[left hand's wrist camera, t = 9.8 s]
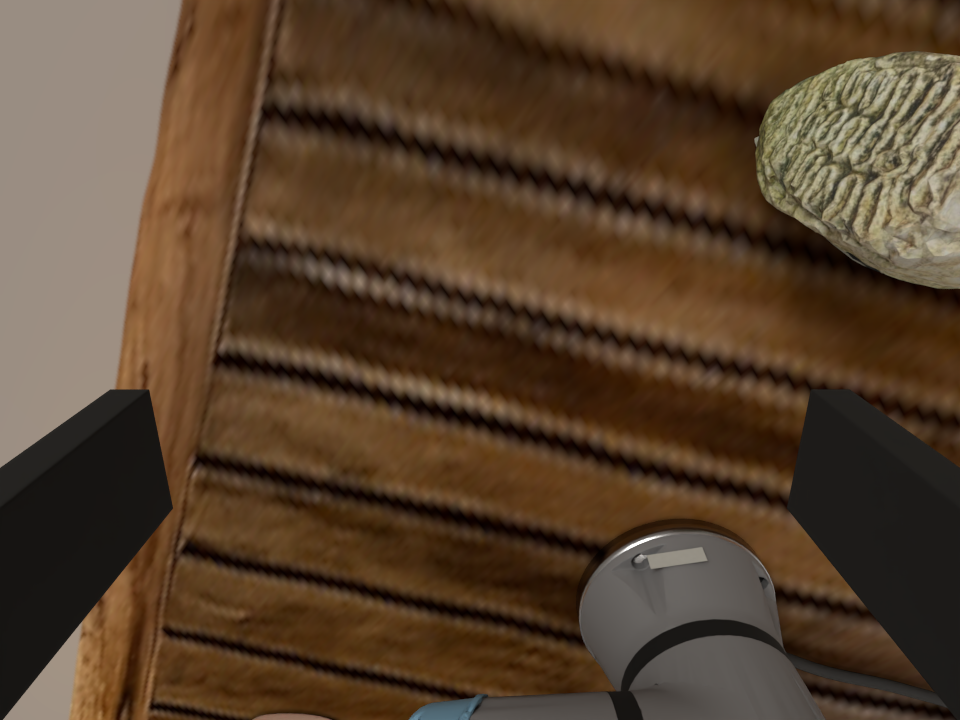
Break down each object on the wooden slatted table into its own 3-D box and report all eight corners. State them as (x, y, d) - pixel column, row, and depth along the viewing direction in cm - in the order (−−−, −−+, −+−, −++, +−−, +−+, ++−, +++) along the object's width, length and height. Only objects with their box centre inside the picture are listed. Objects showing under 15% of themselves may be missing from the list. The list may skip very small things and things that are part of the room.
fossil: (766, 49, 37) (945, 1, 22) (1022, 174, 39) (1327, 201, 25) (692, 194, 39) (809, 231, 25) (934, 302, 42) (1164, 390, 28)
